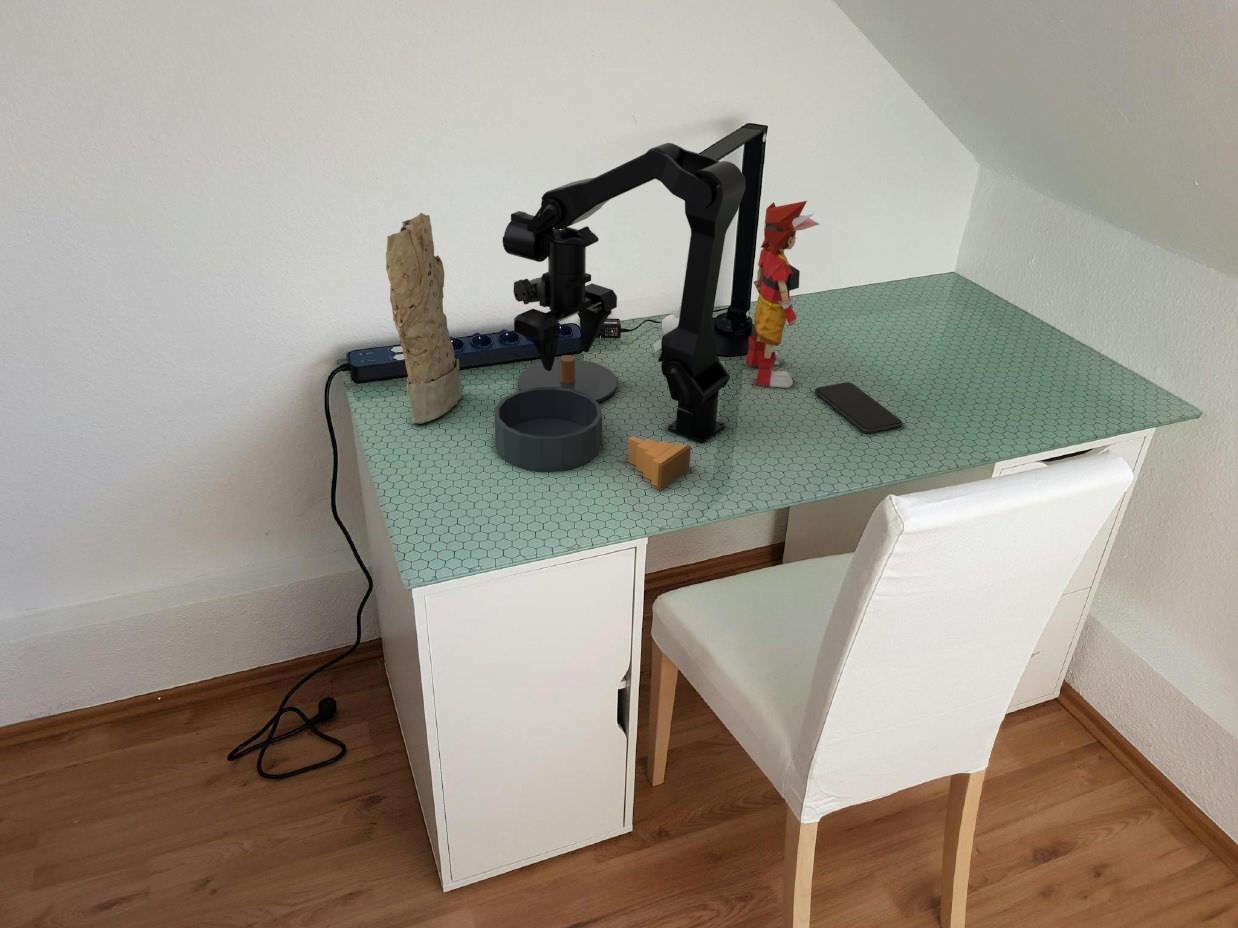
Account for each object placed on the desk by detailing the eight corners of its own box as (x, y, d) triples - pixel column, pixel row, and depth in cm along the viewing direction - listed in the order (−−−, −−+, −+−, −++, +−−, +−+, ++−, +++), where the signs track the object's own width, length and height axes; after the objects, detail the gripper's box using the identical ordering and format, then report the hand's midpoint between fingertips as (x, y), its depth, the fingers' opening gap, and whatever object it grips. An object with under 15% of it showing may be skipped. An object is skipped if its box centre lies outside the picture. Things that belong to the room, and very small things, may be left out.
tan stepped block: (689, 470, 140) (691, 446, 138) (660, 490, 135) (662, 466, 133) (644, 451, 144) (645, 427, 142) (614, 470, 139) (615, 446, 137)
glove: (472, 420, 150) (461, 229, 135) (404, 429, 147) (384, 234, 132) (457, 381, 161) (445, 200, 146) (393, 388, 158) (374, 205, 143)
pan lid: (562, 356, 170) (562, 329, 168) (636, 384, 162) (638, 356, 159) (497, 388, 159) (495, 360, 157) (573, 420, 151) (573, 390, 148)
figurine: (708, 376, 165) (713, 315, 160) (684, 383, 163) (688, 321, 157) (667, 350, 174) (671, 291, 168) (644, 356, 172) (646, 296, 166)
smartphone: (904, 427, 152) (849, 385, 164) (905, 422, 152) (850, 380, 163) (864, 435, 149) (811, 392, 161) (865, 430, 149) (812, 387, 161)
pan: (544, 409, 154) (543, 377, 151) (621, 441, 146) (623, 408, 143) (473, 447, 144) (472, 413, 141) (553, 484, 136) (553, 449, 133)
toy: (811, 385, 163) (837, 207, 148) (764, 393, 161) (785, 212, 145) (776, 356, 173) (796, 185, 157) (730, 363, 170) (747, 190, 154)
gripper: (566, 241, 161) (566, 329, 169) (485, 271, 148) (490, 365, 156) (620, 257, 155) (617, 347, 163) (541, 290, 142) (542, 386, 151)
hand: (566, 360), depth 158 cm, fingers open, 9 cm apart
